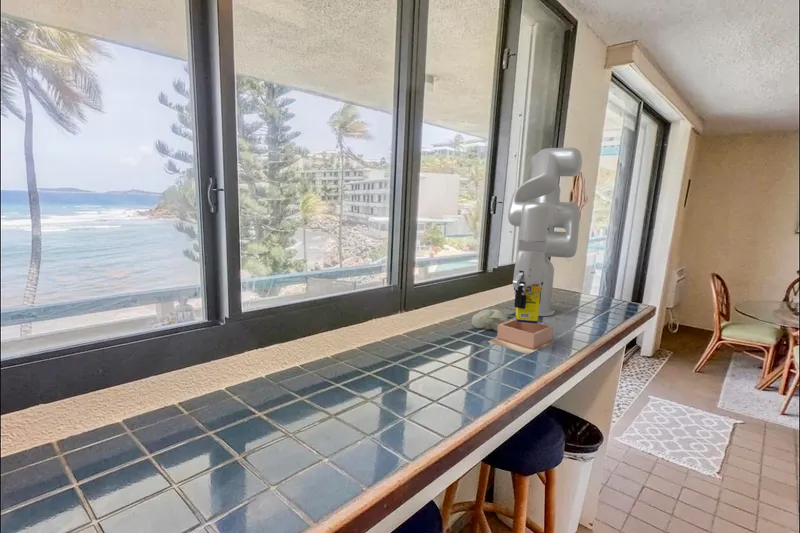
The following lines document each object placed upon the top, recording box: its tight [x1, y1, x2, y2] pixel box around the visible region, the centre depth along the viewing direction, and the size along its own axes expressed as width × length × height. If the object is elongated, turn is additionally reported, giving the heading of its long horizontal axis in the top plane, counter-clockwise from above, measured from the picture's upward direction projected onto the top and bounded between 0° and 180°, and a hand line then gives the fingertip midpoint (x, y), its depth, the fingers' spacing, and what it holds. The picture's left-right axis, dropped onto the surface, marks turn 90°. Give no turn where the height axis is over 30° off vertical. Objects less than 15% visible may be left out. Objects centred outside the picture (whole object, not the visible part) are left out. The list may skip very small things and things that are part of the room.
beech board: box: [487, 337, 555, 355], centre depth 120 cm, size 16×13×1 cm
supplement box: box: [515, 283, 541, 324], centre depth 120 cm, size 6×6×11 cm
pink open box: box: [496, 318, 554, 350], centre depth 121 cm, size 12×12×4 cm
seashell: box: [471, 308, 510, 332], centre depth 132 cm, size 13×8×10 cm
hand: (527, 305), depth 120 cm, fingers closed on supplement box, 8 cm apart
